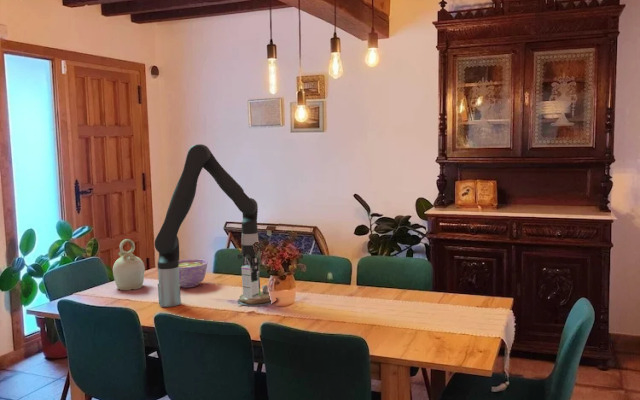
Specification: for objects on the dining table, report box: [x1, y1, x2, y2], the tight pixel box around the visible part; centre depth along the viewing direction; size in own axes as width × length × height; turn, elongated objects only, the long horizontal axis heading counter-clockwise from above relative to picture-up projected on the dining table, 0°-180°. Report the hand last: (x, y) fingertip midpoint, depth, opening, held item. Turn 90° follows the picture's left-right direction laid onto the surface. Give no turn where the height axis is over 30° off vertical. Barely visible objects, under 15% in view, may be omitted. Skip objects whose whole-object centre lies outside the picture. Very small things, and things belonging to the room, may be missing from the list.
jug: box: [112, 238, 146, 291], centre depth 305 cm, size 15×16×25 cm
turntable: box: [239, 284, 271, 304], centre depth 274 cm, size 16×16×5 cm
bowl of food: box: [179, 258, 208, 288], centre depth 306 cm, size 20×20×12 cm
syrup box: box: [241, 265, 261, 299], centre depth 272 cm, size 6×6×14 cm
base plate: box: [237, 298, 272, 307], centre depth 274 cm, size 19×18×1 cm
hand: (251, 278), depth 271 cm, fingers open, 8 cm apart
